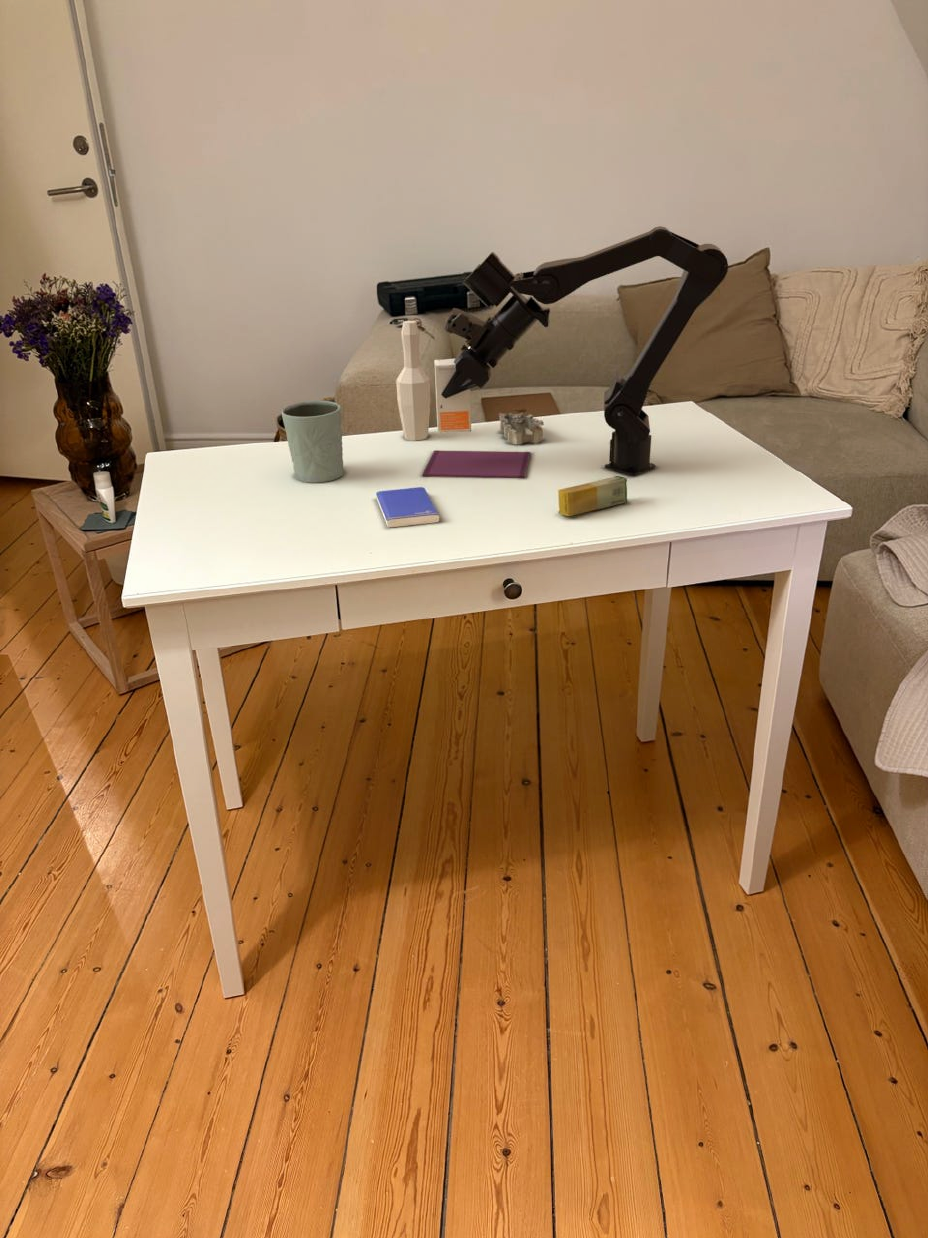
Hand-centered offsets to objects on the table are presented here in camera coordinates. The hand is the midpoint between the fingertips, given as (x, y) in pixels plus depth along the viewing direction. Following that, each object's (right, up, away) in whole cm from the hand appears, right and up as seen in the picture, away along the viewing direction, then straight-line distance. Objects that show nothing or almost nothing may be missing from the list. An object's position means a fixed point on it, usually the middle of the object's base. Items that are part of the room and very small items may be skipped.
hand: (445, 392), depth 169 cm
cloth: (+6, -12, +6) cm, 14 cm away
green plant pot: (-23, -14, +4) cm, 27 cm away
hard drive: (-6, -22, -13) cm, 26 cm away
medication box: (+24, -22, -14) cm, 35 cm away
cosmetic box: (+2, -6, +3) cm, 7 cm away
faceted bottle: (-6, -4, +22) cm, 23 cm away
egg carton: (+14, -4, +20) cm, 25 cm away
